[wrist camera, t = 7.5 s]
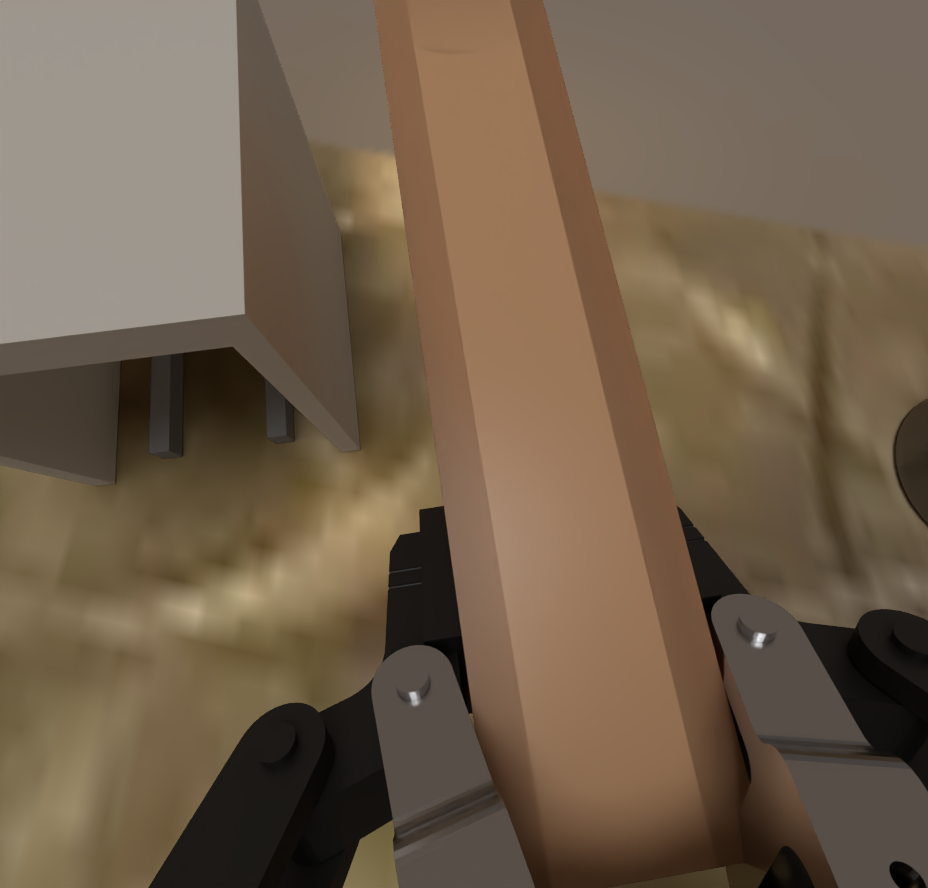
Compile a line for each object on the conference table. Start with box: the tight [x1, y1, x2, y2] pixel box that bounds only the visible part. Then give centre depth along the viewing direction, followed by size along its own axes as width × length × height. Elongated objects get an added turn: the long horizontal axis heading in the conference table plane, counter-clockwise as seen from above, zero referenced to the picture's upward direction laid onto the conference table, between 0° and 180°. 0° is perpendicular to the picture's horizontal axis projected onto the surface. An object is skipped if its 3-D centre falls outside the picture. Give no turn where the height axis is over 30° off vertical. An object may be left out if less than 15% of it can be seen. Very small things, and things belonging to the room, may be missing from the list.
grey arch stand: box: [0, 0, 360, 486], centre depth 20 cm, size 14×14×14 cm
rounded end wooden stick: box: [374, 0, 750, 888], centre depth 12 cm, size 18×4×8 cm, turn 9°
